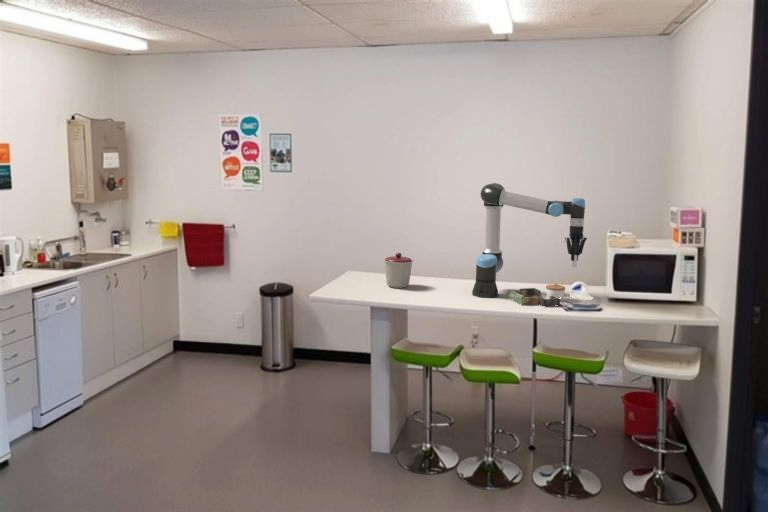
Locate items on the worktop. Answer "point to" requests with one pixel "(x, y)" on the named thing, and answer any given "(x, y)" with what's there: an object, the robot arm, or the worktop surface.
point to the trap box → (531, 297)
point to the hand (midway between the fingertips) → (574, 266)
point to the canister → (398, 271)
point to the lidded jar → (555, 291)
